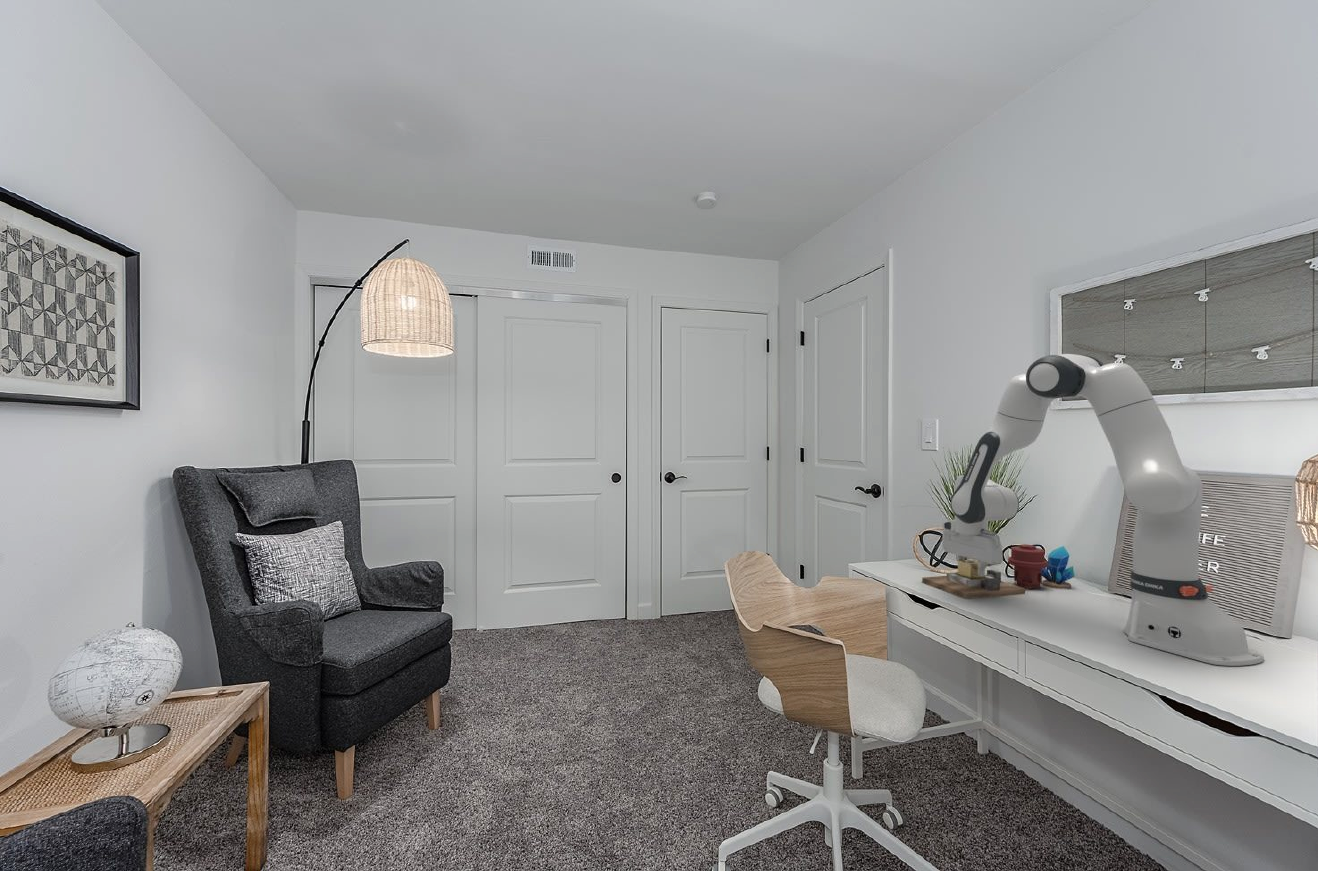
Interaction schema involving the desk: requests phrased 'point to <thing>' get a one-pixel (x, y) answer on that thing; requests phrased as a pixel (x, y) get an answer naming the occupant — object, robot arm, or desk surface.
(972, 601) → the desk surface
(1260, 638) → the desk surface
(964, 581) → the stand
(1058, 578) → the gemstone
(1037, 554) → the mechanical component
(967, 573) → the tan cube
